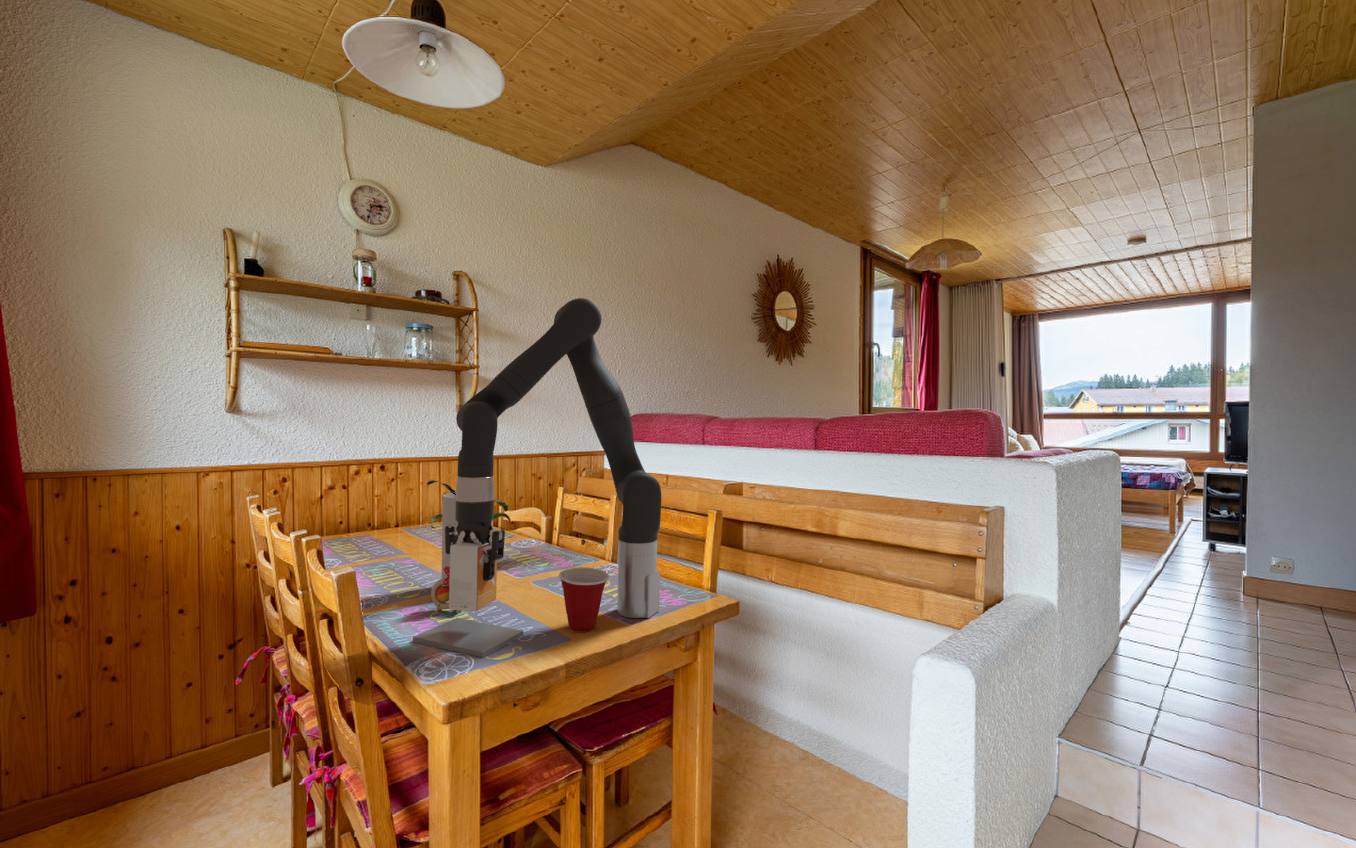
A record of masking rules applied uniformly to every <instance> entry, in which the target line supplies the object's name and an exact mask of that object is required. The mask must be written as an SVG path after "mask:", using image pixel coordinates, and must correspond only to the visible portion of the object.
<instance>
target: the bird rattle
mask: <svg viewBox="0 0 1356 848" xmlns="http://www.w3.org/2000/svg"><path fill="white" fill-rule="evenodd" d="M443 570H444V571H445V573H446V575H447V576H448V577H446V578H442V577H441V578H439V579H438V580H437V581H436V582H434V584H433V586H432V587H431V591H430V597H431V600H432V601H431V602H432V603H433V604H434V606H435V607H436V611H438V612H440V611H443V610H450V609H449V585H450V566H449V567H448V566H445V567H444V568H443ZM442 585H448V586H442ZM460 611H461V610H455V613H456V614H459V613H460Z"/></svg>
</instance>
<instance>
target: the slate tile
mask: <svg viewBox="0 0 1356 848" xmlns="http://www.w3.org/2000/svg"><path fill="white" fill-rule="evenodd" d="M524 632H525V631H524V630H522V629H516V628H511V627H506V626H501V625H497V624H496V625H495V624H491V623H486V622H481V621H475V620H472V619H471V620H469V619H466V618H465V619H464V618H459V617H456V618H454V619H451V620H450V621H447V622H446V621H445V622H444V623H442V624H439V625H437V626H434V627H432V628H431V629H428V630H425V631H424V632H421V633H419V634H416V635H414V636H412V643H416V644H420V645H421V644H422V645H427V646H430V647H434V648H439V649H444V650H448V651H452V652H456V653H462V654H466V655H470V656H475V657H479V658H485V657H486V656H489V655H490V654H493V653H494V652H496V651H498V650H500V649H501V648H503V647H505V646H507V645H508V644H510V643H513V642H514V641H516V640H518V639H520V638H521V637H523V636H524Z"/></svg>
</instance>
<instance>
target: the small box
mask: <svg viewBox="0 0 1356 848" xmlns="http://www.w3.org/2000/svg"><path fill="white" fill-rule="evenodd" d="M491 541H492V540H491ZM489 545H490V543H488V542H487V543H485V544H482V545H481V546H480V545H475V544H474V543H465V542H464V543H457V544H454V545H451V546H450V585H449V601H448V602H449V609H448V610H454V611H456V610H460V611H466V612H468V611H469V612H478V611H479V610H481V609H483V608H484V607H485V606H487V605H489V604H491V603H493V602H494V601H496V600H497V581H498V579H497V578H498V577H497V574H498V572H497V571H498V560H496V561H495V569H494V570H495V571H494V572H495V574H494V577H493V578H492V579H491V580H488V581H484V580H483V563H485V562H484V560H483V551H482V549H483V548H484V547H487V546H489ZM487 553H489V552H488V551H487ZM488 556H489V554H488Z"/></svg>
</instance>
